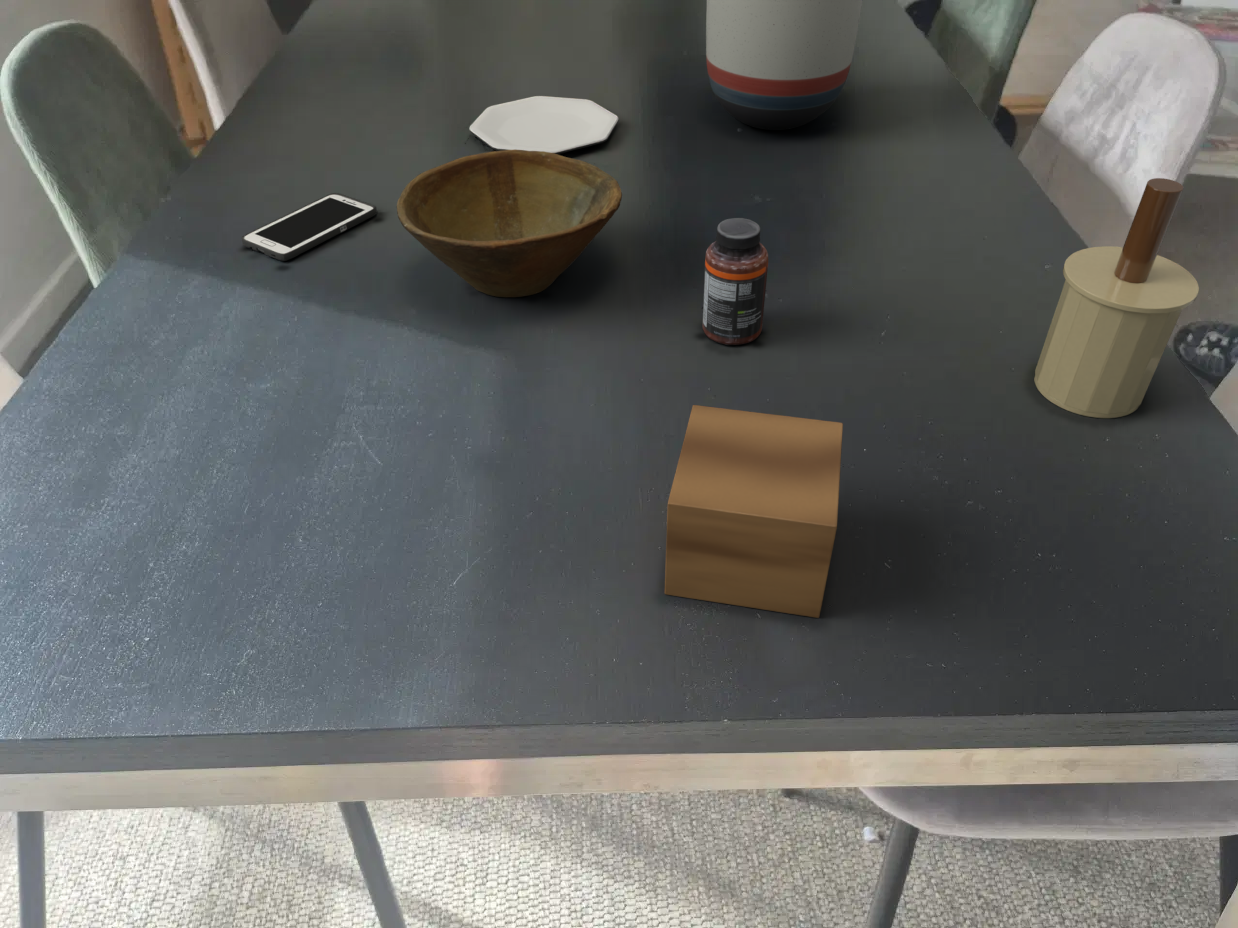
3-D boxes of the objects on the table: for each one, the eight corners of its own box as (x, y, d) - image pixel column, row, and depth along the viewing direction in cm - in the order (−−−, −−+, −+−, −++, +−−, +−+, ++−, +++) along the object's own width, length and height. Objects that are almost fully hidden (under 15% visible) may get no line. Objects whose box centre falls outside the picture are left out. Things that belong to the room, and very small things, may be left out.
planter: (769, 87, 147) (783, -69, 133) (874, 124, 135) (901, -42, 121) (671, 119, 137) (676, -45, 123) (775, 163, 125) (792, -14, 111)
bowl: (642, 318, 96) (643, 227, 90) (415, 345, 93) (399, 253, 86) (601, 222, 113) (599, 140, 106) (406, 242, 109) (392, 158, 103)
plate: (628, 112, 139) (628, 102, 138) (595, 167, 125) (595, 156, 124) (500, 102, 143) (500, 92, 142) (454, 154, 128) (453, 143, 127)
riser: (819, 618, 66) (837, 526, 60) (664, 594, 68) (667, 503, 62) (826, 512, 74) (843, 422, 69) (688, 493, 76) (692, 404, 70)
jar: (1151, 424, 83) (1200, 315, 75) (1040, 411, 84) (1078, 303, 77) (1131, 365, 89) (1174, 260, 82) (1028, 354, 91) (1062, 250, 84)
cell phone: (239, 245, 109) (237, 237, 108) (336, 198, 118) (334, 191, 117) (284, 264, 105) (282, 256, 105) (380, 214, 114) (379, 206, 114)
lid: (1174, 328, 74) (1218, 228, 68) (1043, 285, 79) (1074, 189, 74) (1212, 276, 80) (1255, 180, 74) (1088, 240, 85) (1119, 147, 80)
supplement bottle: (729, 309, 98) (737, 206, 90) (774, 332, 94) (785, 227, 87) (688, 330, 95) (693, 226, 87) (733, 355, 91) (742, 248, 84)
